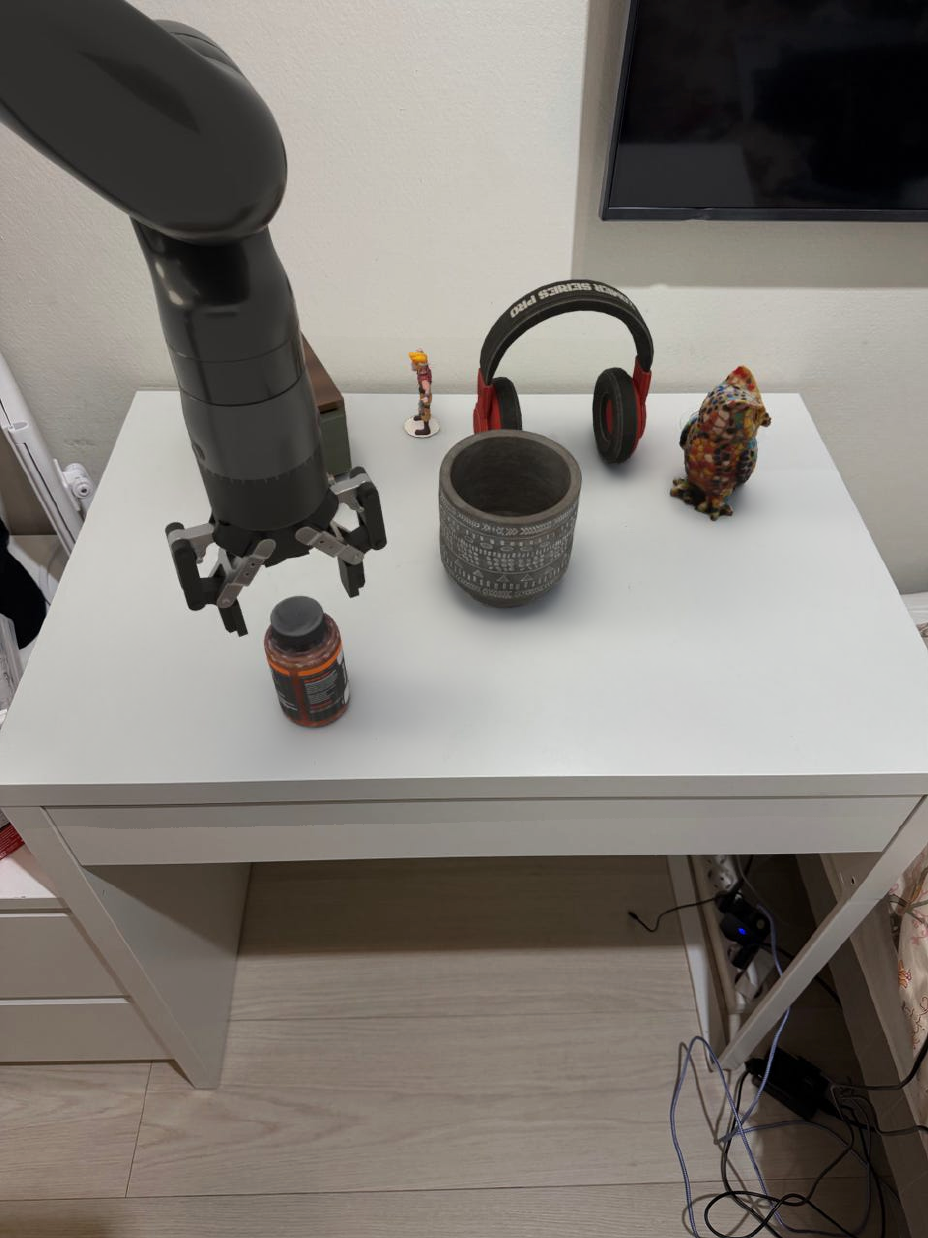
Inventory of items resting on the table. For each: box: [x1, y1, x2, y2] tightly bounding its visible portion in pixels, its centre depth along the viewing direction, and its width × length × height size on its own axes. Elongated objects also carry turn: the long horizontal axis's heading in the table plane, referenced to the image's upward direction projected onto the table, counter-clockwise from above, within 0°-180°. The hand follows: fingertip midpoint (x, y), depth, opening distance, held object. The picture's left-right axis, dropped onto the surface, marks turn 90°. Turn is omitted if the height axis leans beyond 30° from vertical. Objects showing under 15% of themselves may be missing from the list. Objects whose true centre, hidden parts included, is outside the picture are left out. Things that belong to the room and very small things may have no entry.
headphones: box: [472, 278, 655, 465], centre depth 84 cm, size 18×10×20 cm, turn 99°
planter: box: [437, 429, 583, 609], centre depth 76 cm, size 12×12×13 cm
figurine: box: [669, 364, 772, 522], centre depth 83 cm, size 9×9×15 cm
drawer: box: [320, 409, 351, 486], centre depth 87 cm, size 18×12×7 cm, turn 26°
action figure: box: [403, 347, 440, 438], centre depth 91 cm, size 12×3×9 cm, turn 5°
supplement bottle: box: [263, 595, 351, 728], centre depth 67 cm, size 6×6×11 cm
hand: (296, 608), depth 63 cm, fingers open, 8 cm apart
